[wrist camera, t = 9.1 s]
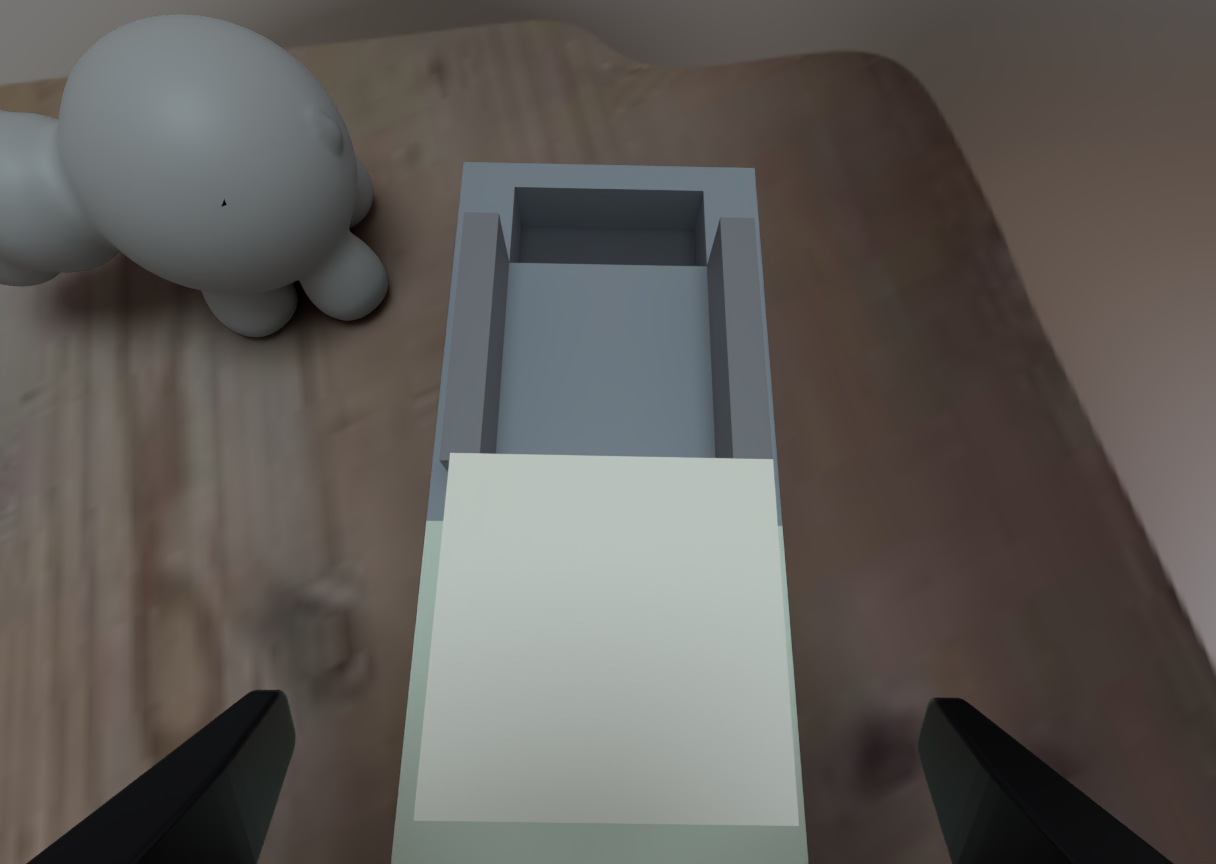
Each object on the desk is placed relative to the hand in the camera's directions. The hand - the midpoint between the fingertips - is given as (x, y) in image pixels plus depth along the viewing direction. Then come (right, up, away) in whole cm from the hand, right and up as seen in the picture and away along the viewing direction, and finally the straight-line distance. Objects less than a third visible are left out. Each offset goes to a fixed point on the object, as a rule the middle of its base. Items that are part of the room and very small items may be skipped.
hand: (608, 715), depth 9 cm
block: (0, -2, +8) cm, 9 cm away
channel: (0, +2, +12) cm, 13 cm away
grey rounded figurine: (-14, +10, +15) cm, 23 cm away
